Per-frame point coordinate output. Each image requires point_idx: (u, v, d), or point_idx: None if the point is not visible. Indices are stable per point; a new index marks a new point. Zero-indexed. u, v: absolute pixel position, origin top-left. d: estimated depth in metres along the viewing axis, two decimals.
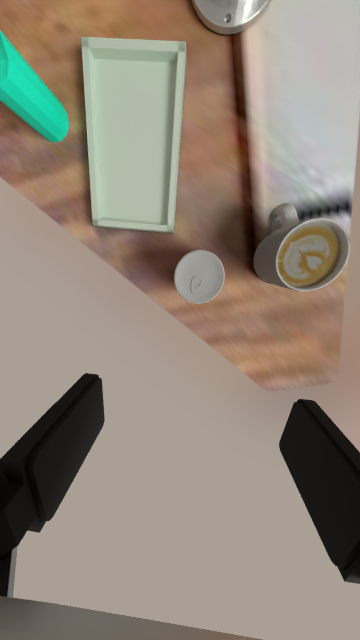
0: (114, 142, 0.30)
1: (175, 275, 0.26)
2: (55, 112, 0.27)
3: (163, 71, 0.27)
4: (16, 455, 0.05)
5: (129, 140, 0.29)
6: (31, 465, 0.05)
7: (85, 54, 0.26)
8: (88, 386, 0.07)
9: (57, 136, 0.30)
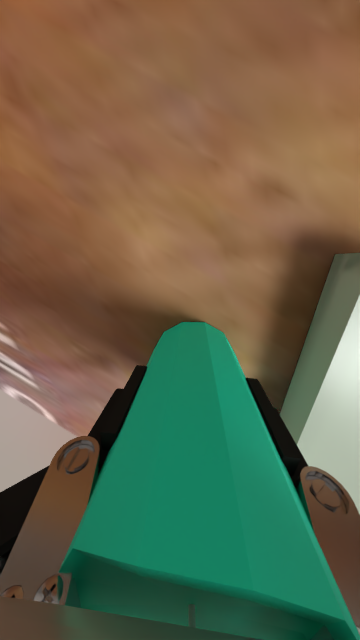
0: (345, 418, 0.13)
1: None
2: None
3: None
4: (111, 428, 0.06)
5: None
6: None
7: None
8: (143, 376, 0.08)
9: None
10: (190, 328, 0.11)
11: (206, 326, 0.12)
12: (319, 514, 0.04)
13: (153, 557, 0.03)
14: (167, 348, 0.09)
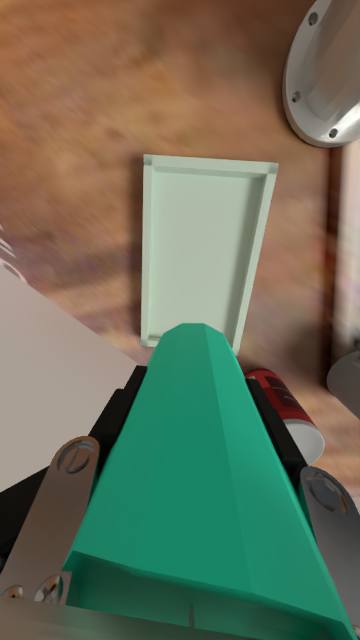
0: (172, 259, 0.24)
1: None
2: None
3: (241, 187, 0.21)
4: (111, 428, 0.06)
5: (191, 257, 0.24)
6: None
7: (147, 173, 0.20)
8: (143, 376, 0.08)
9: None
10: (190, 329, 0.11)
11: (206, 327, 0.12)
12: (319, 514, 0.04)
13: (153, 559, 0.03)
14: (167, 349, 0.09)
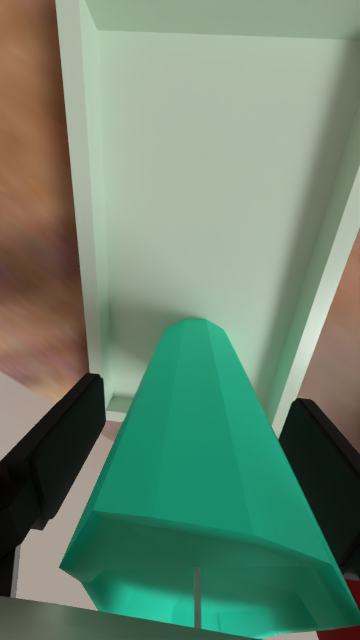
0: (149, 254, 0.11)
1: None
2: None
3: (318, 67, 0.08)
4: (20, 453, 0.05)
5: (189, 250, 0.11)
6: (35, 463, 0.05)
7: (67, 11, 0.07)
8: (90, 385, 0.07)
9: None
10: (192, 324, 0.12)
11: (207, 323, 0.12)
12: None
13: (166, 510, 0.03)
14: (170, 343, 0.10)
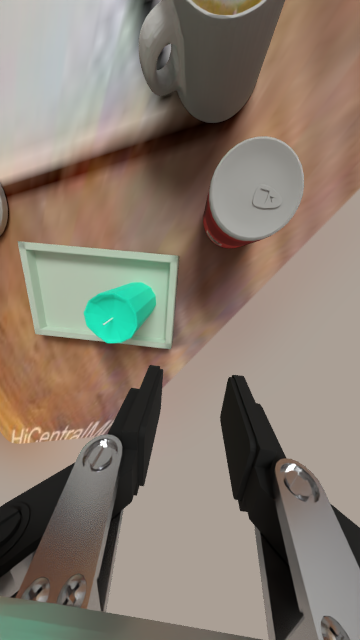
0: None
1: (247, 237, 0.16)
2: (137, 285, 0.25)
3: (42, 265, 0.28)
4: (132, 427, 0.06)
5: None
6: (142, 435, 0.06)
7: (44, 332, 0.31)
8: (157, 376, 0.08)
9: (153, 294, 0.28)
10: None
11: None
12: (293, 506, 0.04)
13: (86, 323, 0.20)
14: None
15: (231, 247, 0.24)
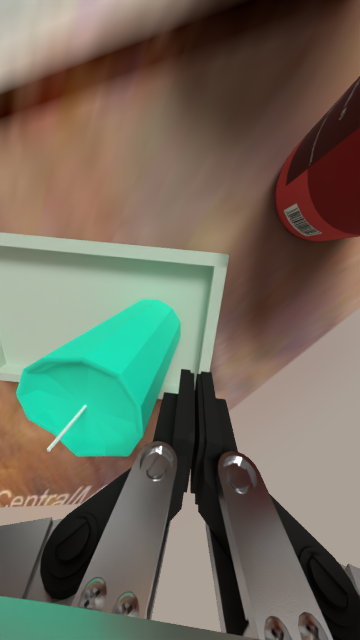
0: None
1: None
2: (150, 309, 0.14)
3: None
4: (183, 433, 0.06)
5: (81, 329, 0.18)
6: (191, 442, 0.06)
7: (0, 376, 0.19)
8: (191, 380, 0.08)
9: (177, 322, 0.16)
10: None
11: None
12: (235, 504, 0.04)
13: (28, 414, 0.08)
14: None
15: (331, 239, 0.13)
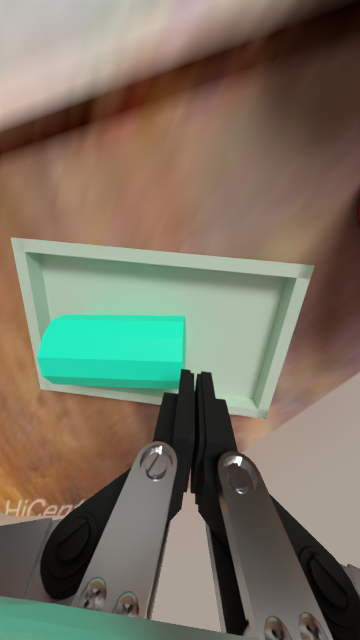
0: None
1: None
2: (142, 323, 0.13)
3: (53, 279, 0.17)
4: (183, 433, 0.06)
5: None
6: (191, 442, 0.06)
7: (55, 387, 0.19)
8: (191, 380, 0.08)
9: (168, 356, 0.12)
10: None
11: None
12: (235, 503, 0.04)
13: None
14: None
15: None
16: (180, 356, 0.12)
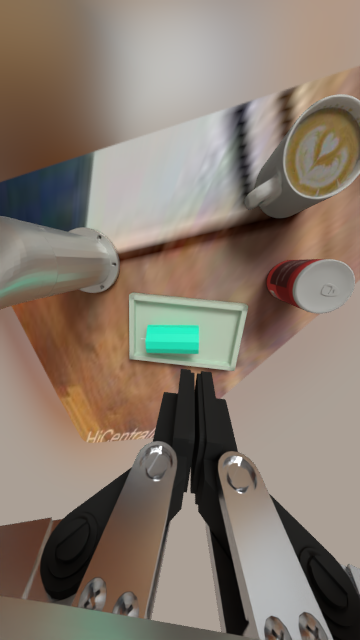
0: None
1: (316, 312, 0.26)
2: (183, 328, 0.35)
3: (140, 309, 0.38)
4: (183, 433, 0.06)
5: None
6: (191, 442, 0.06)
7: (137, 357, 0.40)
8: (191, 380, 0.08)
9: (194, 340, 0.33)
10: None
11: None
12: (235, 504, 0.04)
13: None
14: None
15: None
16: (198, 340, 0.33)
